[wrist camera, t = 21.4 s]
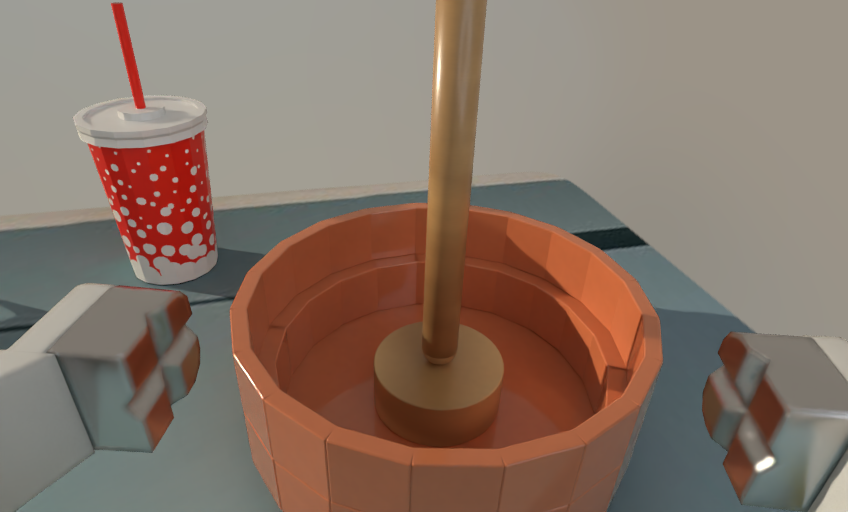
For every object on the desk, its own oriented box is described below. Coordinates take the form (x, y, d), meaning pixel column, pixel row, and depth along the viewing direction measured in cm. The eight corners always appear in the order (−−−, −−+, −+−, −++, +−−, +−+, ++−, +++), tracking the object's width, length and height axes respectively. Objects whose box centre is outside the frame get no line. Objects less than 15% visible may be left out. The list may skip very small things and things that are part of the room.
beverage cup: (237, 280, 31) (191, 11, 24) (116, 302, 29) (26, 15, 22) (225, 230, 36) (185, -6, 29) (121, 246, 34) (48, -5, 27)
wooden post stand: (491, 355, 26) (552, -132, 16) (507, 448, 21) (606, -150, 12) (377, 353, 25) (371, -140, 16) (369, 446, 21) (354, -161, 11)
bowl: (572, 305, 31) (593, 206, 27) (687, 595, 18) (752, 470, 14) (292, 299, 30) (281, 198, 27) (198, 591, 17) (156, 462, 14)
